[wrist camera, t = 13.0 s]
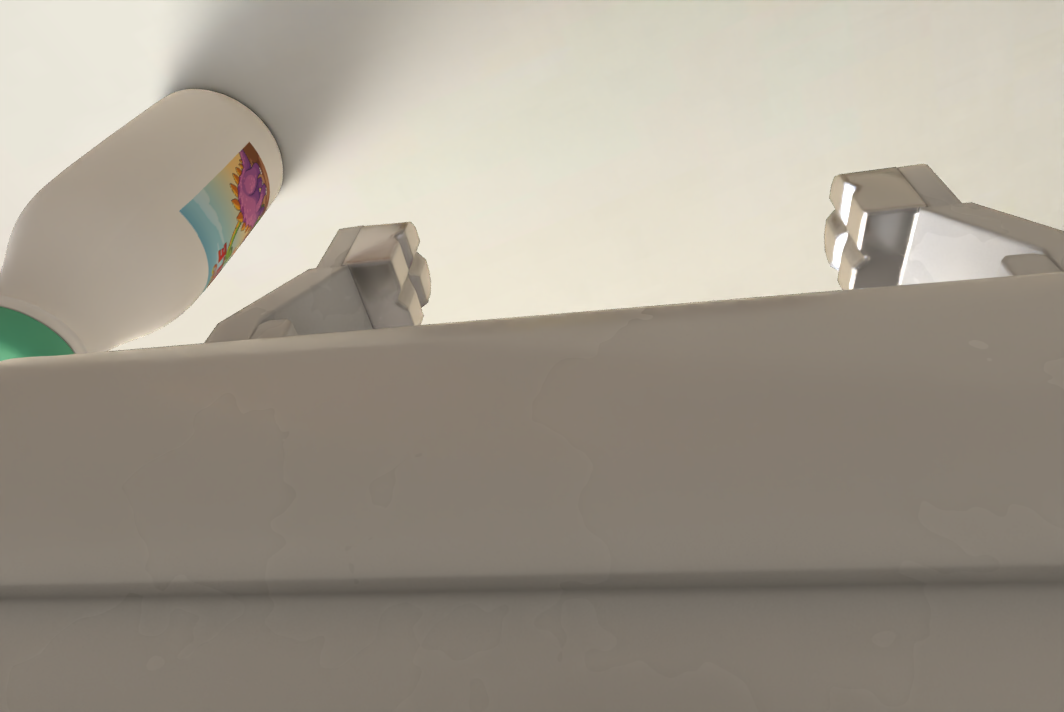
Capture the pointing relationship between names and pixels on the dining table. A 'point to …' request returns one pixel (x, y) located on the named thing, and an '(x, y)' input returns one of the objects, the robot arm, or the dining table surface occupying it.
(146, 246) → the milk bottle
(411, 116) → the dining table surface
